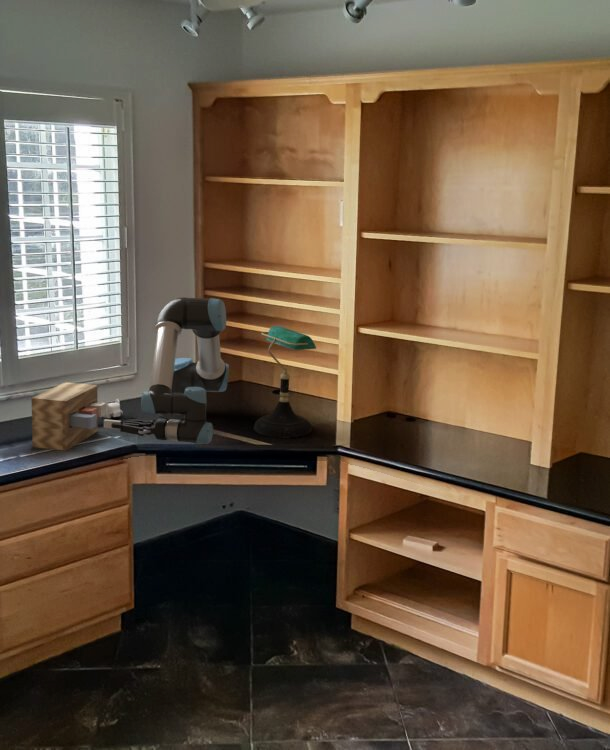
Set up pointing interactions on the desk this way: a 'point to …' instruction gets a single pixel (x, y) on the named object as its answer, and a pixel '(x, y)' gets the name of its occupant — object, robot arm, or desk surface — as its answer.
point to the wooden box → (61, 415)
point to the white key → (99, 408)
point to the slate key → (82, 420)
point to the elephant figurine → (112, 409)
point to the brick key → (88, 411)
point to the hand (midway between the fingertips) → (104, 423)
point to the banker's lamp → (285, 390)
